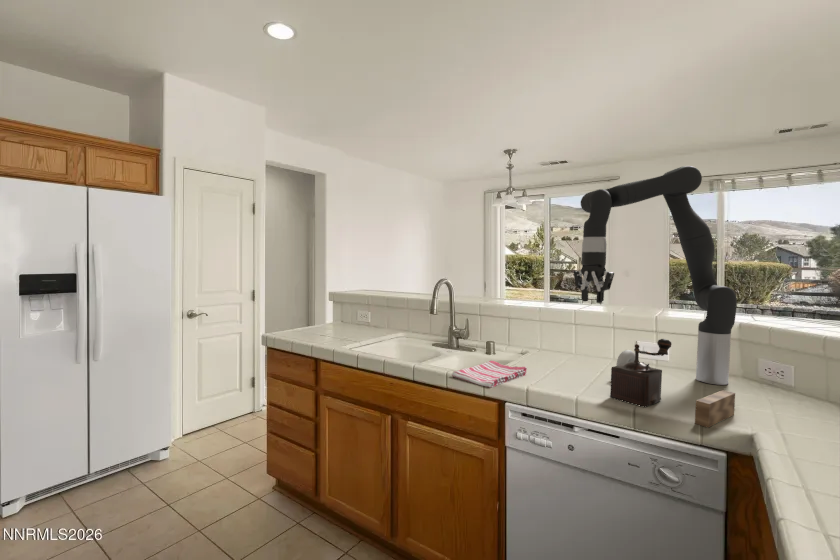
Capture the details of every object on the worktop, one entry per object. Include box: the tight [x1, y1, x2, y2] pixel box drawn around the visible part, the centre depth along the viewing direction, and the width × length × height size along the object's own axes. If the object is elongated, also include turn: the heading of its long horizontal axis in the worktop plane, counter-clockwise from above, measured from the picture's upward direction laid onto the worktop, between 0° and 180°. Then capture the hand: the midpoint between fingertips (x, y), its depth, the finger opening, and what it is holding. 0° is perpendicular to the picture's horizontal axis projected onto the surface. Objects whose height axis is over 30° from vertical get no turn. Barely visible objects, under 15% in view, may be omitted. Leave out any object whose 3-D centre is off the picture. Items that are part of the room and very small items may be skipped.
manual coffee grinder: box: [609, 338, 672, 408], centre depth 124 cm, size 16×11×18 cm
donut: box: [616, 349, 635, 366], centre depth 145 cm, size 10×4×10 cm, turn 124°
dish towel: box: [451, 360, 528, 389], centre depth 146 cm, size 17×23×4 cm
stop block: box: [694, 389, 736, 428], centre depth 108 cm, size 16×3×6 cm, turn 124°
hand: (592, 301), depth 139 cm, fingers open, 4 cm apart
